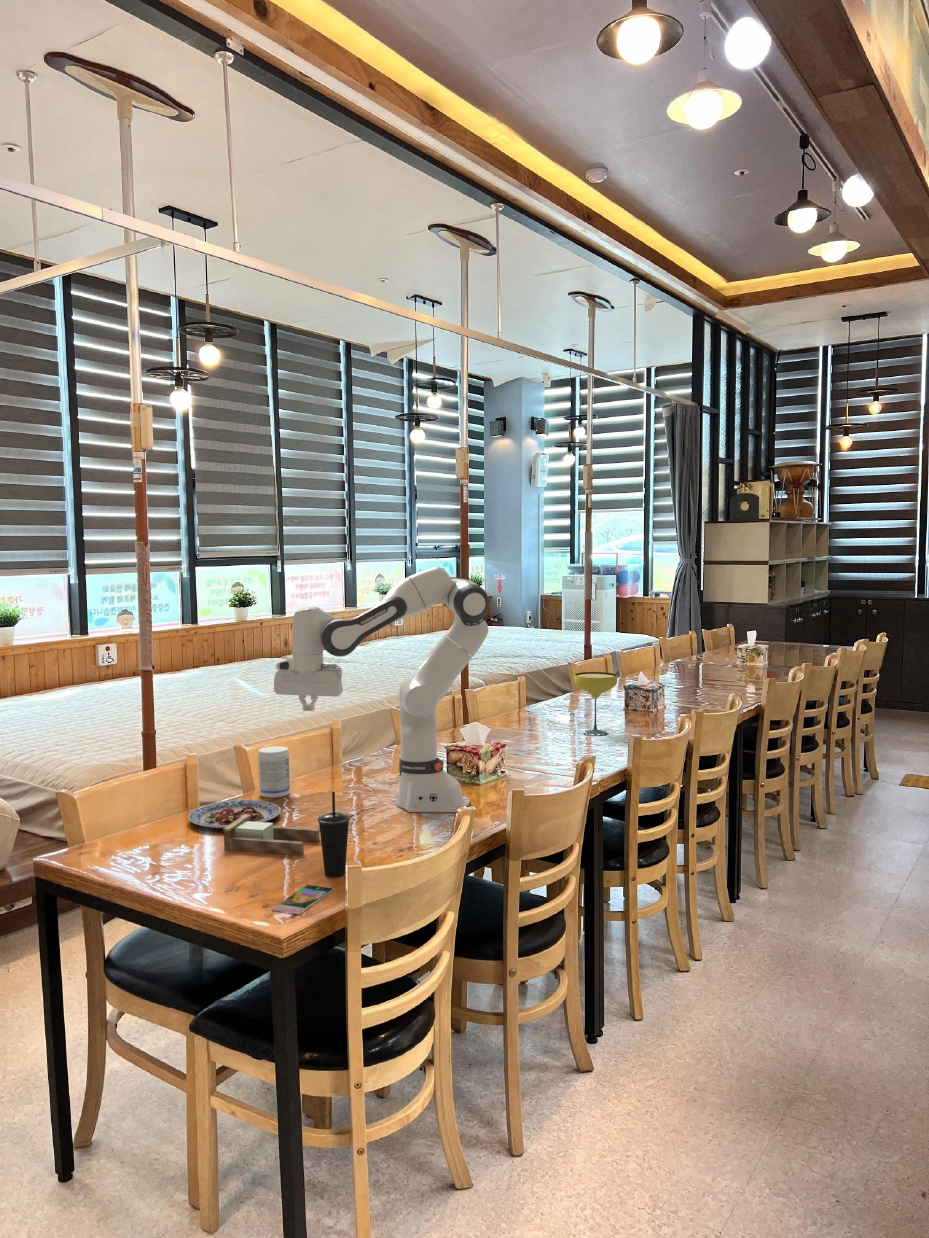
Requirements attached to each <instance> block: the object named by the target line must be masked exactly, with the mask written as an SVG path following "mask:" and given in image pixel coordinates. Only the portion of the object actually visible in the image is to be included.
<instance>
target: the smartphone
mask: <svg viewBox="0 0 929 1238" xmlns="http://www.w3.org/2000/svg"><path fill="white" fill-rule="evenodd" d="M334 890H335V888H333V887H328V886H320V885H314V884H306V885H304V887H302V888H300V889H299V890H297V891H296V892H295V893H293V894H291V895H290V896H288V897H287V898H285V899H284V900H282V901H281V902H280V903H277V904H276V905H275V906H274V907H272V908H271V911H272V910H273V912H277V911H280V912H279V913H283V912H288V913H287V914H289V912H290V913H295V914H300V913H301V912H303V911H305V910H306V909H307V908H309V907H310V906H312V905H313V904H315V903H316V902H317V903H318V902H320V901H321V900H322V898H323V899H324V898H325V897H326V896H328V895H330V894H331V893H332V892H333V891H334ZM317 903H316V904H317ZM316 904H315V905H316ZM313 906H314V905H313ZM313 906H312V907H313ZM303 909H304V910H303ZM309 909H310V908H309ZM306 911H307V910H306ZM306 911H305V912H306ZM303 913H304V912H303Z"/></svg>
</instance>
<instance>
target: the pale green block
mask: <svg viewBox="0 0 929 1238" xmlns="http://www.w3.org/2000/svg"><path fill="white" fill-rule="evenodd" d="M273 826H274V823H273V822H267V821H266V822H252V821H245V822H243V823H242V824H240V825H239V826H237V827H236V828H235V837H244V838H257V839H271V840H274V839H273Z"/></svg>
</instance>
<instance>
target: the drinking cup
mask: <svg viewBox="0 0 929 1238" xmlns="http://www.w3.org/2000/svg"><path fill="white" fill-rule="evenodd" d="M331 805H332V806H331V807H332V809H331V812H328V813H325V814H323V815H321V816H318V818H317V823H318V825H319V837H320V844H321V851H322V861H323V869H324V876H325V877H328V878H339V877H343V876H344V875H345V874H346V867H347V866H346V864H347V849H348V838H349V824H350V823H349V822H350V821H351V817H350V816H349V815H348V814H346V813H345V814H344V813H343V812H337V811H336V792H335V791H331ZM345 866H346V867H345ZM344 873H345V874H344Z"/></svg>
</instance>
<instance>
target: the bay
mask: <svg viewBox="0 0 929 1238" xmlns="http://www.w3.org/2000/svg"><path fill="white" fill-rule="evenodd" d="M245 821H251V815H247V814H245V815H244V816H242V817H241V818H239V819H237V820H236V821H234V822H233V823H231V824H230V825H228V826H226V827H225V828H222V829H223V847H224V848H223V849H224V850H228V851H240V852H241V851H242V852H252V853H253V852H255V853H265V854H266V853H267V854H278V855H279V854H280V855H289V856H290V855H292V856H293V855H294V856H302V855H304V851H305V849H304V848H305V847H304V842H315V843H318V842H319V841H321V838H320V828H309V827H296V826H292V827H291V826H283V825H282V826H281V825H280V826H279V825H273V840H271V839H257V838H244V837H235V828H236V827H237V826H239V825H240V824H242V823H243V822H245Z"/></svg>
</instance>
